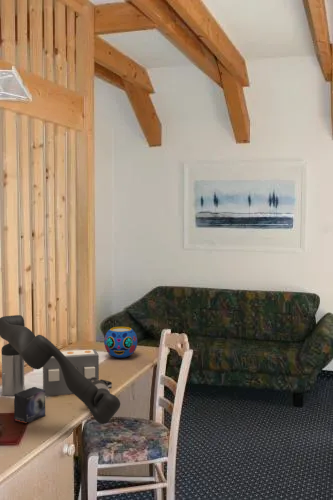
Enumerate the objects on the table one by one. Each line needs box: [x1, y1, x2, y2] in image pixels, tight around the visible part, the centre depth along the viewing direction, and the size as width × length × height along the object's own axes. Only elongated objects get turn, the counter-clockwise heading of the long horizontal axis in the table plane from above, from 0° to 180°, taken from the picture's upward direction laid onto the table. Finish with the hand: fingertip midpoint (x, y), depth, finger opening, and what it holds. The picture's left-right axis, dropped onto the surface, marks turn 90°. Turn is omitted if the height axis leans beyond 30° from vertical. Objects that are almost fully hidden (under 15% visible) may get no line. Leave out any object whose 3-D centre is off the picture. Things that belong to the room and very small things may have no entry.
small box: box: [13, 386, 46, 424], centre depth 214 cm, size 11×6×10 cm, turn 148°
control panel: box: [42, 349, 100, 397], centre depth 246 cm, size 23×10×17 cm, turn 105°
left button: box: [48, 368, 59, 381], centre depth 239 cm, size 4×3×4 cm
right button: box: [84, 366, 95, 379], centre depth 242 cm, size 4×3×4 cm
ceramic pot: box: [103, 326, 138, 359], centre depth 300 cm, size 18×18×15 cm
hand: (93, 379), depth 233 cm, fingers closed
